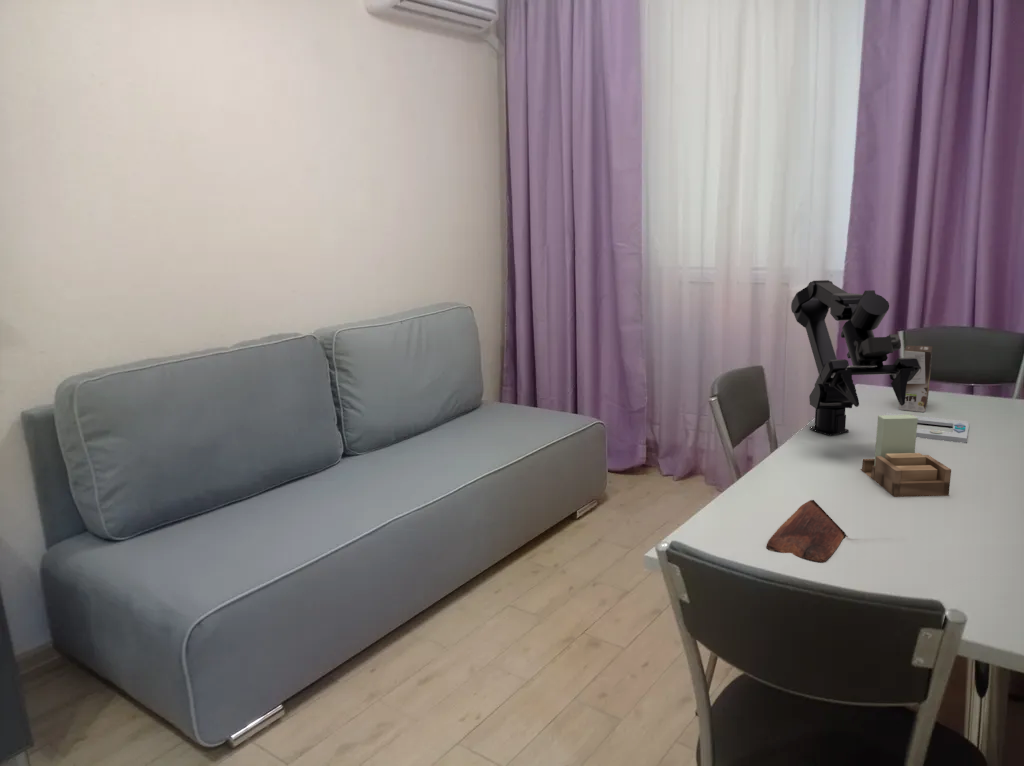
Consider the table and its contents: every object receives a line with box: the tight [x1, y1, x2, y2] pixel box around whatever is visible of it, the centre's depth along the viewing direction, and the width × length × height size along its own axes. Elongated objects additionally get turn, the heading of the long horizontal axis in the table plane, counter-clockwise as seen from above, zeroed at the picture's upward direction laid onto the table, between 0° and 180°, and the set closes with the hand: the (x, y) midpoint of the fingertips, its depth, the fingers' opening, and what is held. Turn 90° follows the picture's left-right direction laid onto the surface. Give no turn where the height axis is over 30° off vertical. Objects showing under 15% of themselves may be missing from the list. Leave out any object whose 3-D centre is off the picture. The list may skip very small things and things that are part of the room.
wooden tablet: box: [766, 499, 846, 563], centre depth 129 cm, size 26×2×10 cm
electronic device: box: [884, 412, 970, 444], centre depth 180 cm, size 18×2×15 cm
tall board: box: [874, 414, 918, 466], centre depth 148 cm, size 2×6×12 cm, turn 88°
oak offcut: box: [885, 452, 926, 466], centre depth 144 cm, size 2×6×6 cm, turn 88°
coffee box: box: [898, 344, 934, 413], centre depth 198 cm, size 9×6×16 cm
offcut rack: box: [859, 454, 952, 498], centre depth 145 cm, size 15×10×6 cm, turn 178°
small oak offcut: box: [896, 465, 937, 481], centre depth 140 cm, size 2×6×4 cm, turn 88°
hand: (880, 405), depth 154 cm, fingers open, 9 cm apart
